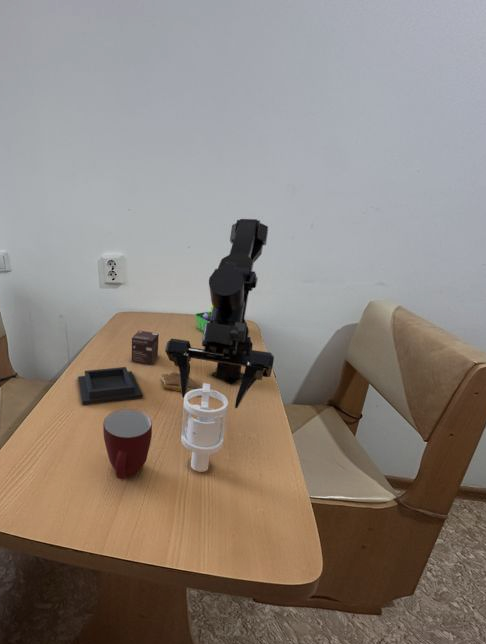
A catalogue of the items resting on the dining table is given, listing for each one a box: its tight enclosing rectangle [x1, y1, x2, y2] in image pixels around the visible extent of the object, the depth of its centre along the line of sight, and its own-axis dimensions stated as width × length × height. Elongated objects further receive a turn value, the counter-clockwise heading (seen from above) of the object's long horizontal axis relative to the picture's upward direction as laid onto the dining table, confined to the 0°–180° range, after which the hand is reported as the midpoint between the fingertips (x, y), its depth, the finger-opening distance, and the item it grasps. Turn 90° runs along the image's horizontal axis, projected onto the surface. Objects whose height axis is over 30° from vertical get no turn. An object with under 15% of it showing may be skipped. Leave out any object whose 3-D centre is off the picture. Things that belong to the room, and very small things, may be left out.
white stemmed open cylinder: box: [180, 382, 229, 473], centre depth 63 cm, size 7×7×15 cm
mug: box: [102, 408, 153, 480], centre depth 62 cm, size 11×8×10 cm
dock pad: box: [77, 366, 143, 406], centre depth 91 cm, size 14×12×3 cm
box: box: [131, 330, 160, 365], centre depth 105 cm, size 6×6×7 cm
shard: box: [159, 371, 203, 393], centre depth 91 cm, size 11×8×2 cm
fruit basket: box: [194, 304, 213, 332], centre depth 123 cm, size 11×9×11 cm
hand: (209, 402), depth 65 cm, fingers open, 9 cm apart
